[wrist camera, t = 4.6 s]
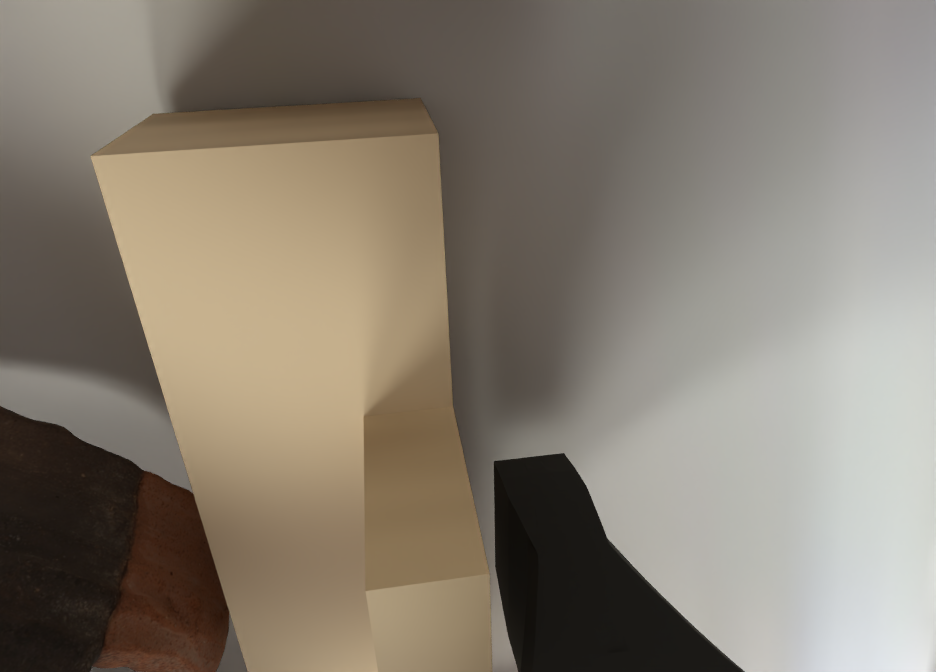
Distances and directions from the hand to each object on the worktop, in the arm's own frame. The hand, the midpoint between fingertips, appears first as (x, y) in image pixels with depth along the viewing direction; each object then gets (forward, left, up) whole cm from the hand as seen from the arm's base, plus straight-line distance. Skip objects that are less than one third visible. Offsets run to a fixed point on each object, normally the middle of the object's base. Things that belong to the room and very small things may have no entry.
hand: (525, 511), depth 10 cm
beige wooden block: (0, +3, -1) cm, 3 cm away
